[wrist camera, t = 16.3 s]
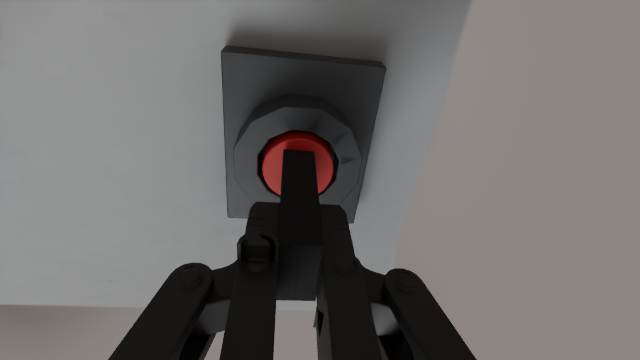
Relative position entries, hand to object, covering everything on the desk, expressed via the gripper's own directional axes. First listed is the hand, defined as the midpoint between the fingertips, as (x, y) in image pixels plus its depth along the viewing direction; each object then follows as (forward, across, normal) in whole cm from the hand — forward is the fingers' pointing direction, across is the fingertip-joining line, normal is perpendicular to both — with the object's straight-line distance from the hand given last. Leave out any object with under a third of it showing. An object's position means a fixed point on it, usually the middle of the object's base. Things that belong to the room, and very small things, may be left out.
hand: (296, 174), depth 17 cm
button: (+2, 0, 0) cm, 2 cm away
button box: (+4, 0, 0) cm, 4 cm away
